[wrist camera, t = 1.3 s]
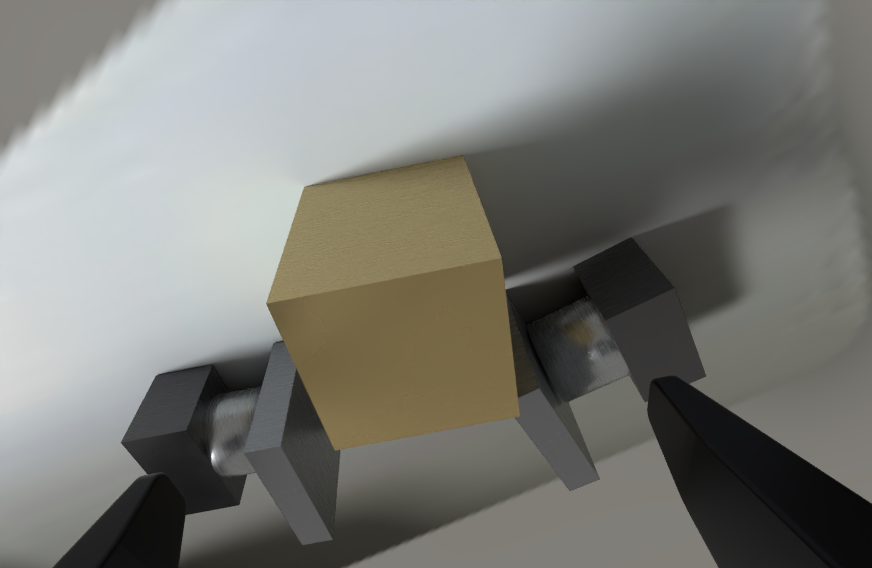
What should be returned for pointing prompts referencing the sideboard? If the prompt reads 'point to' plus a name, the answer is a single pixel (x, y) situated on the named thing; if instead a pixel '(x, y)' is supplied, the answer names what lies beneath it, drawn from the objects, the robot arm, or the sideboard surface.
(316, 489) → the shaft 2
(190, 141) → the sideboard surface
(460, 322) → the block
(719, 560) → the robot arm
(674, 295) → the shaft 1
